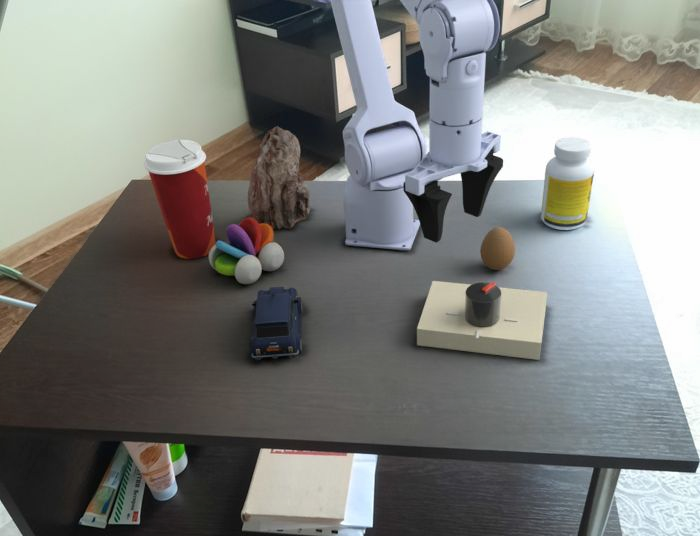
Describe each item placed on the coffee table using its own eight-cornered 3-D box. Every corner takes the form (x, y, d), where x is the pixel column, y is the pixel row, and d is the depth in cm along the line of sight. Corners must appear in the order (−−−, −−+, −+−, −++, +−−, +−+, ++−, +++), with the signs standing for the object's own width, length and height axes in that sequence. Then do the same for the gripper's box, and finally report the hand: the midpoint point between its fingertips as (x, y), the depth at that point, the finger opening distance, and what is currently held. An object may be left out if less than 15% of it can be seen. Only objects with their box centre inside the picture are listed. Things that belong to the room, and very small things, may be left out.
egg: (520, 268, 96) (524, 229, 93) (496, 281, 95) (498, 241, 91) (496, 255, 99) (499, 216, 96) (472, 267, 98) (474, 227, 94)
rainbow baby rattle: (295, 264, 101) (289, 218, 96) (240, 296, 96) (231, 248, 91) (256, 244, 106) (248, 199, 101) (202, 273, 101) (191, 227, 96)
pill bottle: (587, 233, 102) (599, 155, 95) (539, 231, 103) (548, 153, 96) (585, 210, 107) (597, 134, 100) (540, 208, 108) (548, 133, 101)
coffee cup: (235, 244, 106) (216, 147, 96) (190, 269, 102) (165, 169, 92) (199, 227, 111) (178, 132, 101) (155, 250, 106) (128, 153, 97)
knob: (485, 331, 83) (487, 304, 80) (457, 318, 85) (458, 291, 82) (506, 315, 85) (508, 288, 82) (478, 302, 87) (480, 276, 84)
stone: (300, 116, 105) (232, 124, 105) (296, 133, 98) (224, 141, 99) (315, 211, 113) (252, 217, 114) (312, 231, 107) (245, 238, 107)
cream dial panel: (415, 348, 85) (415, 330, 83) (432, 296, 93) (432, 279, 91) (538, 363, 82) (541, 345, 80) (545, 308, 89) (547, 290, 88)
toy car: (302, 303, 94) (297, 266, 90) (301, 363, 84) (296, 325, 81) (256, 306, 94) (250, 270, 90) (250, 367, 84) (242, 329, 81)
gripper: (441, 148, 73) (439, 262, 82) (526, 103, 81) (516, 213, 89) (389, 131, 77) (393, 241, 86) (475, 90, 85) (470, 196, 93)
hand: (452, 226), depth 88 cm, fingers open, 7 cm apart
